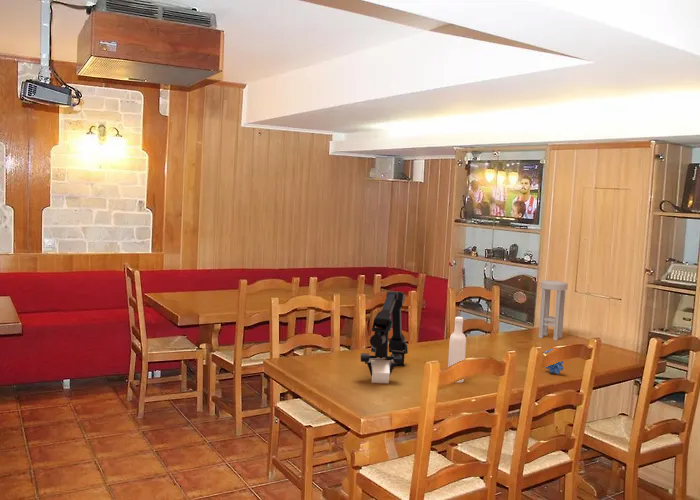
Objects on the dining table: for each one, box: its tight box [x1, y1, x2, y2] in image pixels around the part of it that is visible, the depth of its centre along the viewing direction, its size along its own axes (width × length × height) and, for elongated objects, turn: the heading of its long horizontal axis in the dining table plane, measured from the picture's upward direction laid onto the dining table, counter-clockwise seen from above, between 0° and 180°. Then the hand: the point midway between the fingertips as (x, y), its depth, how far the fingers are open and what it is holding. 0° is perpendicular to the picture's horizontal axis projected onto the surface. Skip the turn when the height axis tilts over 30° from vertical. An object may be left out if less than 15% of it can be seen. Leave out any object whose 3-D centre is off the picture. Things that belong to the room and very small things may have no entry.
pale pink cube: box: [371, 360, 391, 384], centre depth 305 cm, size 8×8×7 cm
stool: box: [538, 279, 569, 341], centre depth 416 cm, size 16×16×35 cm
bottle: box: [447, 316, 467, 384], centre depth 312 cm, size 8×8×30 cm
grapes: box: [543, 348, 564, 375], centre depth 332 cm, size 12×7×12 cm, turn 42°
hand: (380, 376), depth 305 cm, fingers closed on pale pink cube, 8 cm apart
